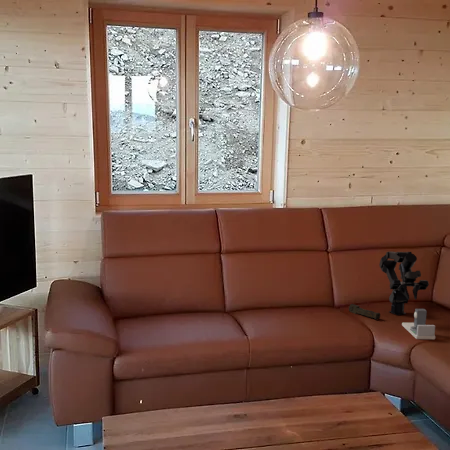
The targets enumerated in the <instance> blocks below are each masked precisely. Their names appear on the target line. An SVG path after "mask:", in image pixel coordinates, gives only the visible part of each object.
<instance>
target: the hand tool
mask: <svg viewBox="0 0 450 450" xmlns="http://www.w3.org/2000/svg"><path fill="white" fill-rule="evenodd" d="M348 311H349V312H350V313H352V314H354V315H357V314H358V315H362V316H365V317H367V318H370V319H373V318H374V320H375V321H378V320H377V319H379V320H380V318H381V313H380V312H375V311H372V310H368V309H364V308H363V307H360V306H359V305H356V304H353V303H351V304H349V307H348Z"/></svg>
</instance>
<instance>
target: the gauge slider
mask: <svg viewBox="0 0 450 450" xmlns="http://www.w3.org/2000/svg"><path fill="white" fill-rule="evenodd" d="M414 310H415V311H414V313H413V317H414V319H413V320H414V321H413V323H414V326H411V327H414V328H415V329H416V330H417V325H427V323H426V322H427V313H428V312H427V310H426V309H425V308H415V309H414Z"/></svg>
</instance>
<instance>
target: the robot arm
mask: <svg viewBox="0 0 450 450" xmlns="http://www.w3.org/2000/svg"><path fill="white" fill-rule="evenodd" d="M412 252H413V251H396V252H395V251H386V253H385V255H383V256H381V258H380V261H379V268H380V270H381V272H383V274H384V273H385V274H386V277H387V279H388V282H389V289H390V290H392V291H391V294H390V295H389V298H388V301H389V302H390V303H391V306H390V307H391V308H390V310H389V311H388V313H390V312H391V313H390V314H392V315H395V314H396V315H395V316H401V315H402V314H403V315H406V314H407V312H406V311H405V304H408V303H409V301H410V294H409V291H408V287H412V288H413V289H412V294H413V298H414V300H415V301H416V300H417V298H418V292H419V291H425V290H427V288H428V286H429V285H430V283H429V281H428V280H427V279H420V280H419V281H418V282H416V281H417V279H418V278H420V277H421V276H422V273H421V270H415V271H413V270H412V268H413V267H414V265H415V263H416V262H417V261H418V258H417V255H415V254H414V253H412ZM398 263H400V264H399V265H398V270H399V272H400V279H401V280H400V279H399V277H398V276H397V272H396V267H397V264H398ZM403 315H402V316H403Z"/></svg>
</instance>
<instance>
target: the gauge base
mask: <svg viewBox="0 0 450 450" xmlns="http://www.w3.org/2000/svg"><path fill="white" fill-rule="evenodd" d="M401 326H402V327H403V328H404V329H405V330H406V331H408V333H410V334H411V335H412V337H414V338H415V339H416V340H435V339H436V335H435V332H436V325H434V324H425V325H417V330H416V329H415V328H414V327H411V326H414V322H402V323H401Z"/></svg>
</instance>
